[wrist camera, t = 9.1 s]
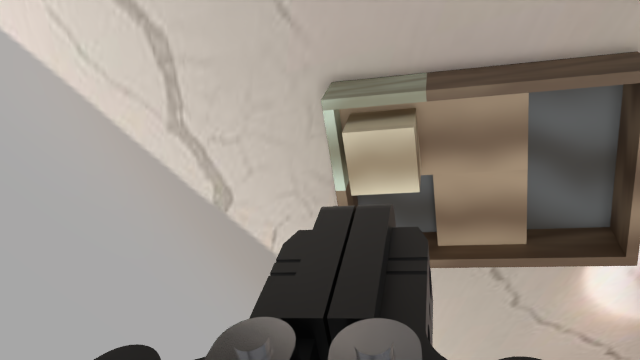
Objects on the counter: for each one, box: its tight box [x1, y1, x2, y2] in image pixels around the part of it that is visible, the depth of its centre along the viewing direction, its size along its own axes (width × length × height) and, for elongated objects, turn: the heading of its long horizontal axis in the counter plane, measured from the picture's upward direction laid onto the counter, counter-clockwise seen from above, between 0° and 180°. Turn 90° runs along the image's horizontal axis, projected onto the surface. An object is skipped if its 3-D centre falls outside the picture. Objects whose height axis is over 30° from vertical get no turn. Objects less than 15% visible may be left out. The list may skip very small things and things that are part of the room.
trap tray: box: [321, 52, 640, 268], centre depth 41 cm, size 15×22×4 cm
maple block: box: [342, 108, 421, 195], centre depth 39 cm, size 5×5×4 cm
